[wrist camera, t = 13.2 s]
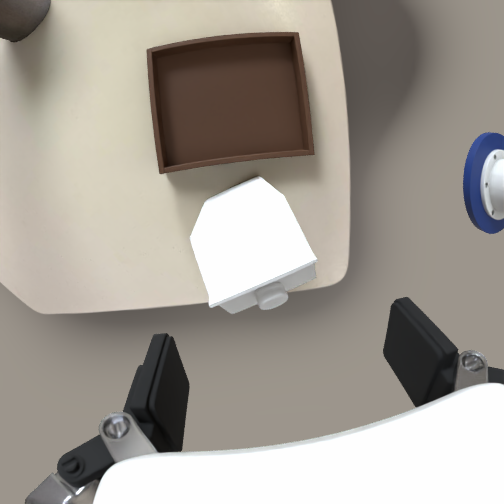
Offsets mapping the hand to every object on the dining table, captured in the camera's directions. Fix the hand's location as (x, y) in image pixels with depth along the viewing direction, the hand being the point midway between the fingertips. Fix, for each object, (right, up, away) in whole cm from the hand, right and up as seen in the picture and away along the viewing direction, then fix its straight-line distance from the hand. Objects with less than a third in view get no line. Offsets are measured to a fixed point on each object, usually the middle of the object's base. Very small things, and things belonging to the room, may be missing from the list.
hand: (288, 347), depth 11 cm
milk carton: (-2, +9, +24) cm, 25 cm away
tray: (-4, +22, +19) cm, 29 cm away
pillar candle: (-37, +41, +9) cm, 56 cm away
